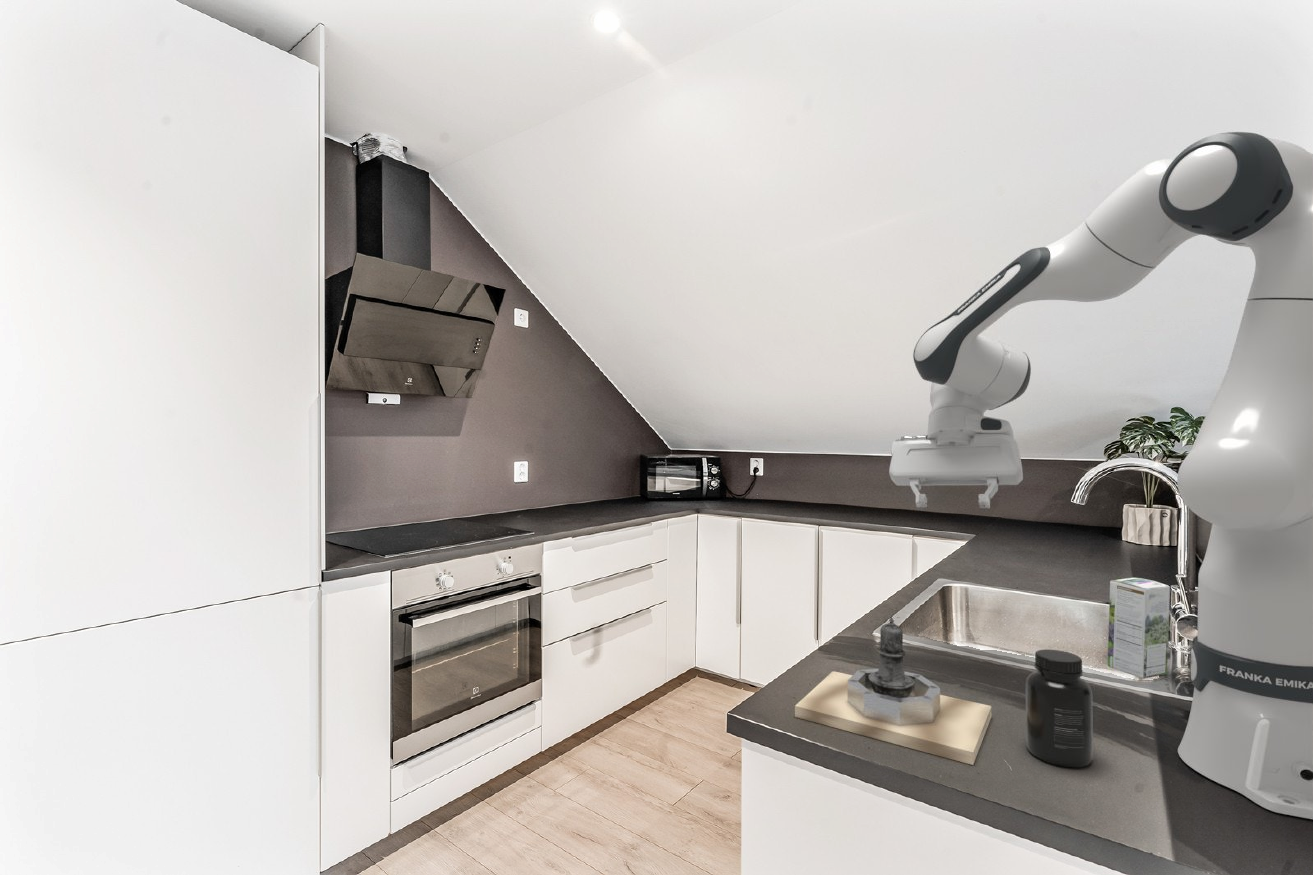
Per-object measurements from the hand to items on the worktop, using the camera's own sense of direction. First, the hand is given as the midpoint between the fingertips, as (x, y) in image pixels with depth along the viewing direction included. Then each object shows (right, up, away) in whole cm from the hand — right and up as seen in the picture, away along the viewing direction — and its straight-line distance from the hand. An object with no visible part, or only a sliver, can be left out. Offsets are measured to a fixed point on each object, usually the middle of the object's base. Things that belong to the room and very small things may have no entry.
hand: (951, 506), depth 105 cm
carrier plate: (-16, -27, -17) cm, 35 cm away
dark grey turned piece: (-16, -25, -17) cm, 35 cm away
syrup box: (+29, -27, -1) cm, 40 cm away
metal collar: (-16, -25, -17) cm, 34 cm away
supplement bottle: (0, -27, -27) cm, 38 cm away
